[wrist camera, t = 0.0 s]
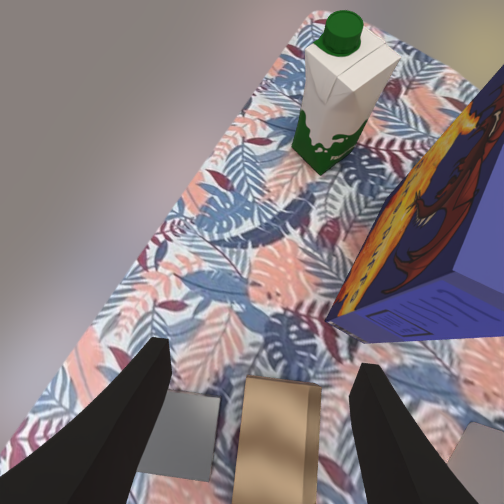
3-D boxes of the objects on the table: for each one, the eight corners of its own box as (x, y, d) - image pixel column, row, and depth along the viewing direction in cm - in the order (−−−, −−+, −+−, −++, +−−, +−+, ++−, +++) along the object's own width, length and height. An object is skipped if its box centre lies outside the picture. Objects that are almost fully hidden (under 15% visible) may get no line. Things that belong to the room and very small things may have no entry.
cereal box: (386, 198, 49) (567, -9, 21) (422, 216, 48) (663, 24, 20) (324, 321, 44) (455, 268, 15) (363, 343, 43) (581, 332, 14)
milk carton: (321, 118, 54) (358, -8, 35) (359, 153, 52) (420, 39, 33) (283, 146, 52) (299, 30, 33) (320, 183, 50) (360, 82, 31)
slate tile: (211, 474, 39) (208, 482, 37) (117, 460, 40) (108, 467, 37) (222, 395, 42) (220, 398, 39) (133, 383, 42) (126, 386, 40)
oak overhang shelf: (307, 519, 37) (314, 541, 33) (232, 508, 38) (229, 528, 33) (314, 383, 42) (321, 387, 37) (247, 374, 42) (246, 377, 38)
